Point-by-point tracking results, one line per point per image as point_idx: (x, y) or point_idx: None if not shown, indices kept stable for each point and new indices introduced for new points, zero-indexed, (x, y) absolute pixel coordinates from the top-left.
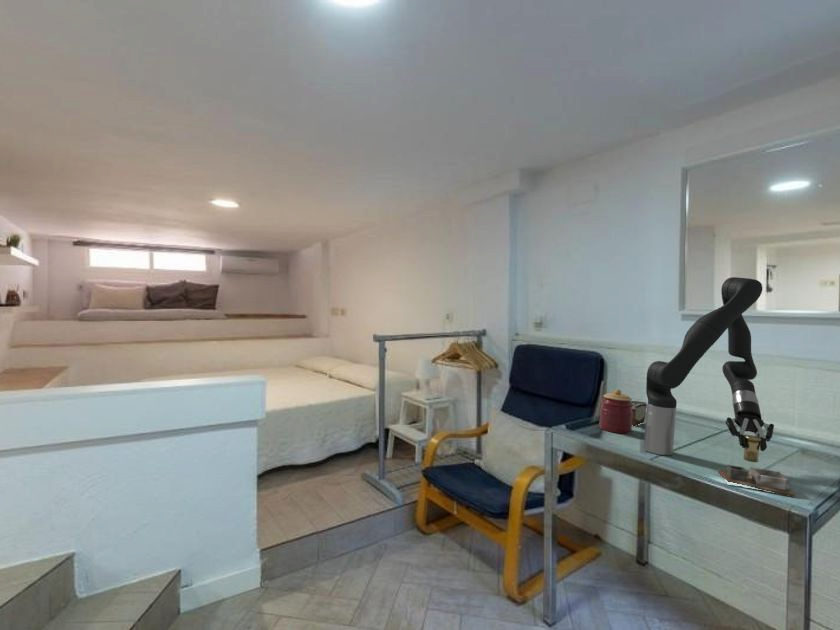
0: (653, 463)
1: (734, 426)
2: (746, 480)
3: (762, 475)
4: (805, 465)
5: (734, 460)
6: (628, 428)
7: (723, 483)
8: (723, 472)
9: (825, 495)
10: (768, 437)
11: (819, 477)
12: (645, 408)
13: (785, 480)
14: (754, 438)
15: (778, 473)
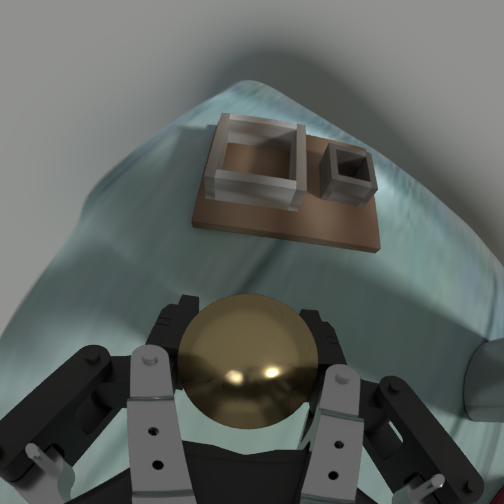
0: (488, 251)
1: (414, 424)
2: (320, 162)
3: (291, 125)
4: None
5: None
6: (502, 502)
7: None
8: (370, 218)
9: (107, 175)
10: (109, 354)
11: (10, 355)
12: None
13: (231, 115)
14: (259, 297)
15: (219, 159)
